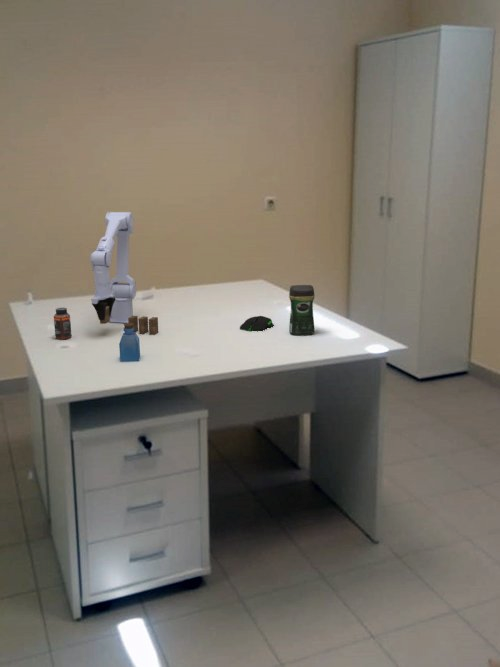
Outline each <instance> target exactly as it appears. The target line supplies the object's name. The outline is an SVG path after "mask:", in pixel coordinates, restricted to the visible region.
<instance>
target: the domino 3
mask: <svg viewBox="0 0 500 667" xmlns="http://www.w3.org/2000/svg"><path fill="white" fill-rule="evenodd" d="M148 334H149V336H155V335H157V334H159V317H157V316H155V317H154V316H152V317H150V318H148Z"/></svg>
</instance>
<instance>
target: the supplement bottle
mask: <svg viewBox="0 0 500 667" xmlns="http://www.w3.org/2000/svg"><path fill="white" fill-rule="evenodd" d="M53 323H54V324H53V326H54V337H55V338H56V339H57V340H63V341H64V340H69V339H70V338H72V326H71V325H72V324H71V315H70V313H68V308H67V307H57V308H55V314H54V315H53Z"/></svg>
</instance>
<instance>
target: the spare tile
mask: <svg viewBox="0 0 500 667" xmlns="http://www.w3.org/2000/svg"><path fill="white" fill-rule="evenodd" d="M107 323H111V322H110V313H109V306H106V310H105V320H99V324H100V325H101V324H102V325H103V324H104V325H106V324H107Z"/></svg>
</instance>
